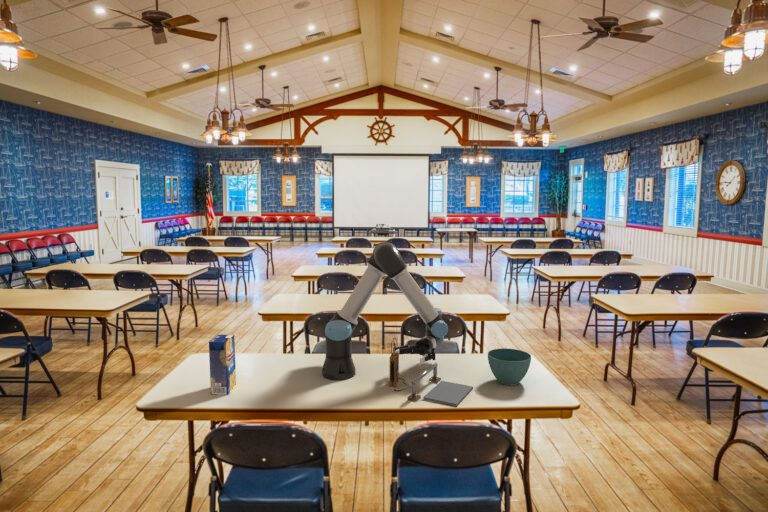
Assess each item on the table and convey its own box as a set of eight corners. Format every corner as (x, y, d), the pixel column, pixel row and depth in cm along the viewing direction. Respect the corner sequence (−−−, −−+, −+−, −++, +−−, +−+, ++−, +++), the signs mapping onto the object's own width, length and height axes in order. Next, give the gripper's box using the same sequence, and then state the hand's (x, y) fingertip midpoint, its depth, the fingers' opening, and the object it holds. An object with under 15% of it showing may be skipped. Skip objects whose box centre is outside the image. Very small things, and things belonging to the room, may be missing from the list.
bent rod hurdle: (407, 399, 196) (407, 380, 195) (432, 378, 219) (432, 361, 218) (416, 401, 194) (416, 382, 193) (441, 380, 217) (441, 362, 216)
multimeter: (411, 392, 203) (411, 345, 201) (387, 390, 205) (387, 343, 203) (416, 379, 218) (416, 335, 215) (394, 377, 220) (394, 334, 217)
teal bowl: (478, 382, 215) (479, 354, 213) (500, 371, 228) (501, 345, 227) (517, 393, 203) (518, 364, 201) (537, 381, 216) (538, 354, 214)
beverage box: (236, 384, 211) (234, 334, 208) (227, 395, 200) (225, 342, 198) (220, 384, 211) (218, 334, 209) (210, 395, 200) (208, 342, 198)
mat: (423, 399, 196) (423, 397, 196) (441, 382, 214) (441, 380, 214) (456, 406, 190) (456, 404, 190) (473, 388, 207) (473, 386, 207)
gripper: (450, 357, 225) (433, 372, 207) (401, 349, 237) (380, 362, 218) (451, 341, 224) (433, 354, 206) (401, 334, 236) (380, 346, 217)
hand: (406, 358), depth 212 cm, fingers open, 13 cm apart
